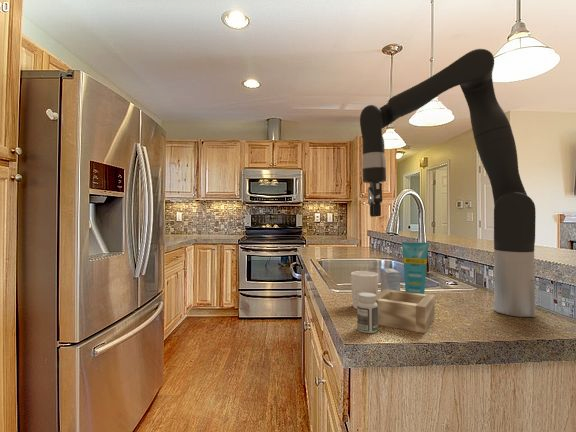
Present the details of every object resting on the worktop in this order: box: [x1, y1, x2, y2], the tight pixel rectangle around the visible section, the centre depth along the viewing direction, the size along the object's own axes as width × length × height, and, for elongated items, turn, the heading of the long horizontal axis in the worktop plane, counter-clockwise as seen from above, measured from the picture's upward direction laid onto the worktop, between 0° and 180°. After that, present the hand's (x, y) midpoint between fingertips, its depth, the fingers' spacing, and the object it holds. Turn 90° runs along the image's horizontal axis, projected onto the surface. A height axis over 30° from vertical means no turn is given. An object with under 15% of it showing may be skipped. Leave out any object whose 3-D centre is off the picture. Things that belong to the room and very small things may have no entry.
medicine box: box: [380, 268, 401, 292], centre depth 110 cm, size 8×4×9 cm, turn 179°
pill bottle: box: [356, 293, 379, 334], centre depth 77 cm, size 5×5×8 cm
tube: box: [401, 241, 430, 294], centre depth 96 cm, size 7×5×19 cm, turn 72°
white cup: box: [350, 270, 379, 310], centre depth 96 cm, size 8×8×10 cm
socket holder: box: [375, 289, 436, 334], centre depth 84 cm, size 13×13×6 cm
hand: (375, 216), depth 109 cm, fingers open, 8 cm apart
